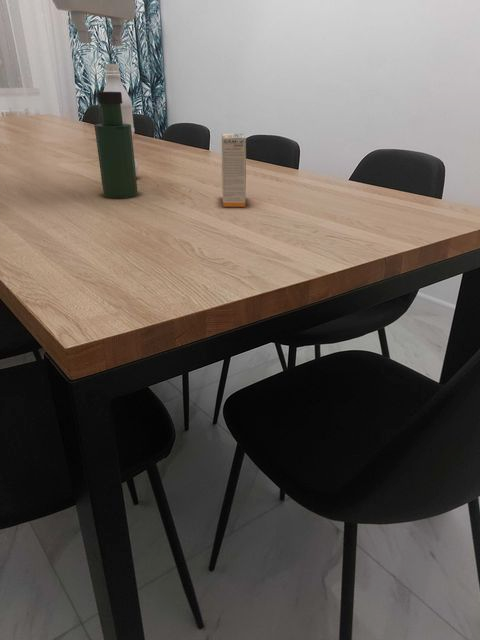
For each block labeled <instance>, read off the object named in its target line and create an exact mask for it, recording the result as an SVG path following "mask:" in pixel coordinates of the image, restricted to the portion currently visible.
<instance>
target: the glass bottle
mask: <svg viewBox="0 0 480 640" xmlns="http://www.w3.org/2000/svg"><path fill="white" fill-rule="evenodd" d="M99 110H100V117H101V118H100V119H101V123H96V124H94V133H95V141H96V148H97V156H98V163H99V170H100V178H101V185H102V192H103V197H105V198H108V199H118V200H119V199H130V198H134V197H137V196H138V195H139V193H138V192H139V191H138V182H137V181H138V180H137V177H136V170H135V160H134V157H135V152H134V143H133V141H134V140H133V141H132V131H131V125H130V124H123V121H122V111H121V104H100V103H99Z"/></svg>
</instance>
